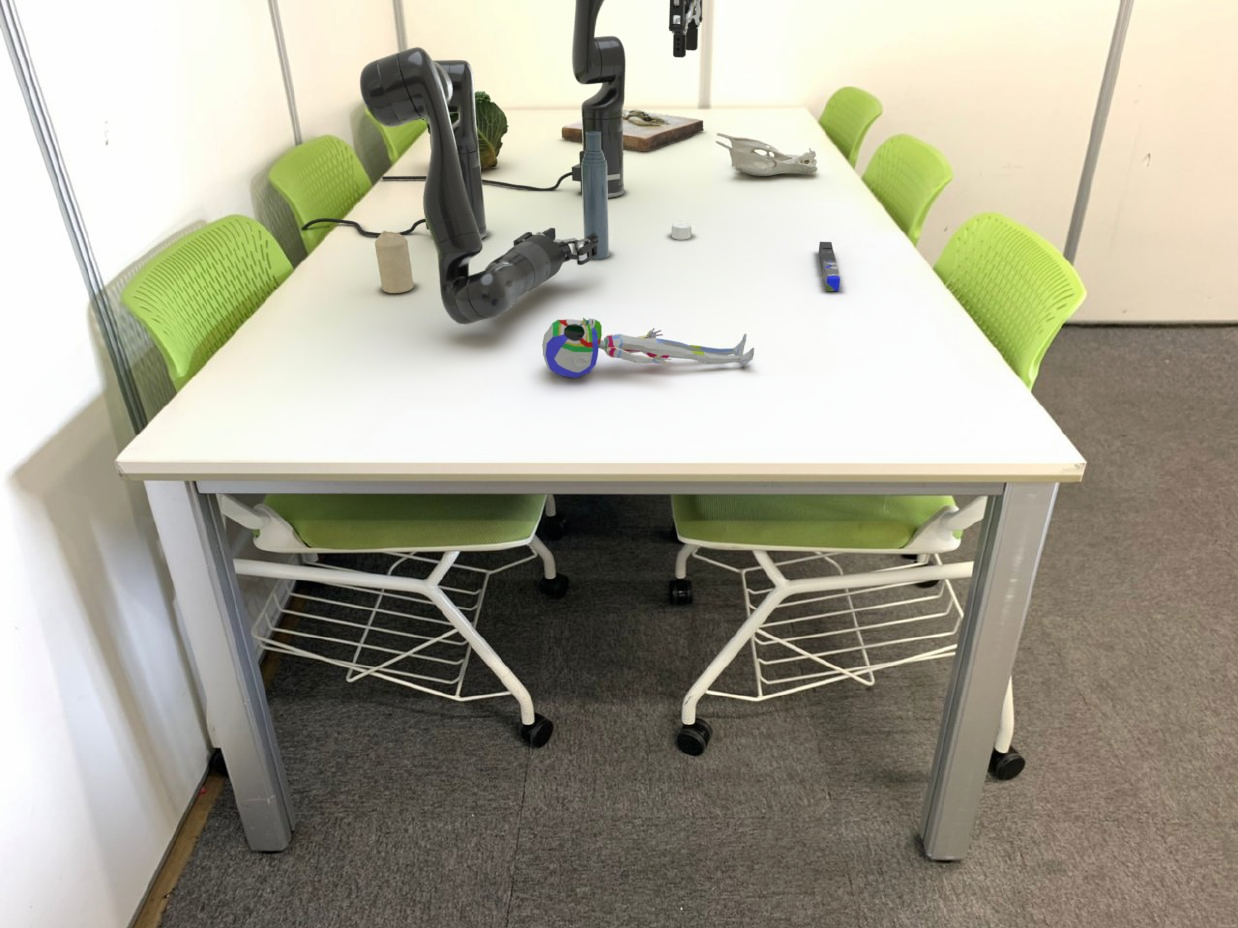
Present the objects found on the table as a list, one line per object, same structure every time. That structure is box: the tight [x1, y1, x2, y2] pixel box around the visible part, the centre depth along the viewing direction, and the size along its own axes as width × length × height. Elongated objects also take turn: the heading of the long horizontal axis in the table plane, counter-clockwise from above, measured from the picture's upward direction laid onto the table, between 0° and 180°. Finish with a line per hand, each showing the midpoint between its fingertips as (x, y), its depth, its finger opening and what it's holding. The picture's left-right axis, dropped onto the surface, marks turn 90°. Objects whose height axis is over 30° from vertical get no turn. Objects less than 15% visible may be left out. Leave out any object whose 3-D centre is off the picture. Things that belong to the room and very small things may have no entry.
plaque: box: [561, 108, 705, 152], centre depth 257 cm, size 30×7×30 cm
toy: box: [541, 317, 755, 379], centre depth 130 cm, size 10×8×30 cm
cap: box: [671, 221, 692, 241], centre depth 181 cm, size 4×4×2 cm
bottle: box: [581, 131, 610, 261], centre depth 167 cm, size 5×5×23 cm
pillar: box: [818, 241, 841, 292], centre depth 163 cm, size 2×2×20 cm
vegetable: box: [421, 90, 510, 169], centre depth 225 cm, size 20×19×20 cm
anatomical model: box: [715, 132, 818, 177], centre depth 219 cm, size 15×9×25 cm
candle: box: [374, 230, 414, 294], centre depth 157 cm, size 6×6×10 cm
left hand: (574, 236), depth 162 cm, fingers open, 8 cm apart
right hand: (685, 53), depth 164 cm, fingers open, 8 cm apart
